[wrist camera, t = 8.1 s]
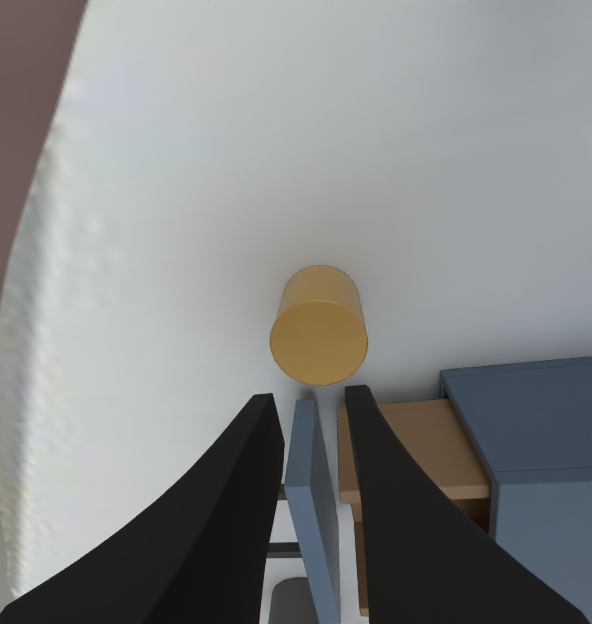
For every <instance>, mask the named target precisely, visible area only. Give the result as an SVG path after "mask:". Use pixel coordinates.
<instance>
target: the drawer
mask: <svg viewBox="0 0 592 624" xmlns="http://www.w3.org/2000/svg"><path fill="white" fill-rule="evenodd" d="M377 406H378V408H379V410H380V411H381V413H382V415H383V416H384V418H385V420H386V421H387V423H388V424H389V426H390V427H391V429H392V430H393V432H394V433H395V435H396V436H397V437H398V439H399V440H400V442H401V443H402V444H403V446H404V447H405V448H406V449H407V451H408V452H409V453H410V455H411V456H412V457H413V458H414V460H415V461H416V462H417V463H418V465H419V466H420V467H421V468H422V469H423V470H424V472H425V473H426V474H427V475H428V476H429V477H430V478H431V479H432V481H433V482H434V483H435V484H436V485H437V486H438V487H439V488H440V489H441V490H442V491H443V492H444V493H445V494H446V496H447V497H448V498H449V499H450V500H451V501H452V502H453V503H454V504H455V505H456V506H457V507H458V508H459V509H460V510H462V511H463V512H464V513H465V514H466V515H467V516H468V517H469V518H470V519H471V520H472V521H473V522H474V523H475V524H477V525H478V526H479V527H480V528H481V529H482V530H483V531H484V532H485V533H486V534H487V535H488V536H489V522H490V507H491V492H492V482H491V481H490V479H489V477H488V475H487V473H486V471H485V469H484V467H483V465H482V463H481V461H480V458H479V456H478V454H477V452H476V450H475V448H474V446H473V444H472V442H471V440H470V438H469V436H468V434H467V432H466V430H465V428H464V426H463V424H462V422H461V420H460V418H459V416H458V414H457V412H456V410H455V408H454V406H453V404H452V402H451V400H450V398H449V399H437V400H424V401H412V402H399V403H387V404H377ZM337 440H338V480H339V496H340V501H341V503H351V507H352V514H353V520H354V532H355V548H356V563H357V579H358V594H359V609H360V614H361V616H364V617H369V611H368V595H367V579H366V564H365V549H364V535H363V521H362V507H361V499H360V493H359V488H358V482H357V477H356V471H355V465H354V458H353V451H352V444H351V437H350V430H349V423H348V417H347V410H346V407H337ZM278 500H287V501H288V505H289V509H290V513H291V516H292V520H293V524H294V528H295V532H296V535H297V539H298V542H287V543H269V547H268V552H267V558H303V562H304V566H305V570H306V573H307V577H308V581H309V585H310V589H311V592H312V596H313V600H314V604H315V608H316V611H317V615H318V619H319V623H320V624H341V617H340V571H339V526H338V517H337V512H336V506H335V501H334V495H333V490H332V485H331V479H330V474H329V469H328V463H327V458H326V453H325V447H324V442H323V437H322V431H321V426H320V420H319V415H318V410H317V404H316V399H303V400H296V406H295V413H294V420H293V427H292V434H291V441H290V448H289V455H288V462H287V469H286V477H285V484H281V485H280V491H279V496H278Z"/></svg>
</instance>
